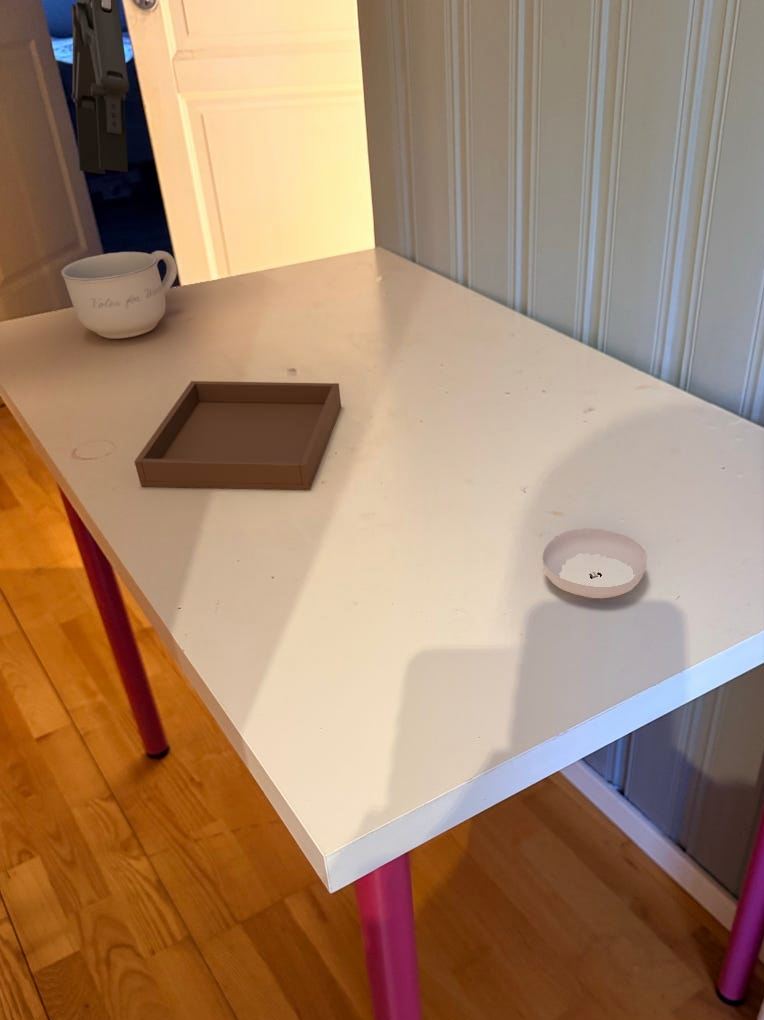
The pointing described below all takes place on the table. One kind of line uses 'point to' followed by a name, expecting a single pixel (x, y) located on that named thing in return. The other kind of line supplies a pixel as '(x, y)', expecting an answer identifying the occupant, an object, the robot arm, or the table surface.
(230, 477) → the tray
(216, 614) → the table surface
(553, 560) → the shallow pink dish
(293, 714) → the table surface
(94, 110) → the robot arm
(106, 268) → the teacup
